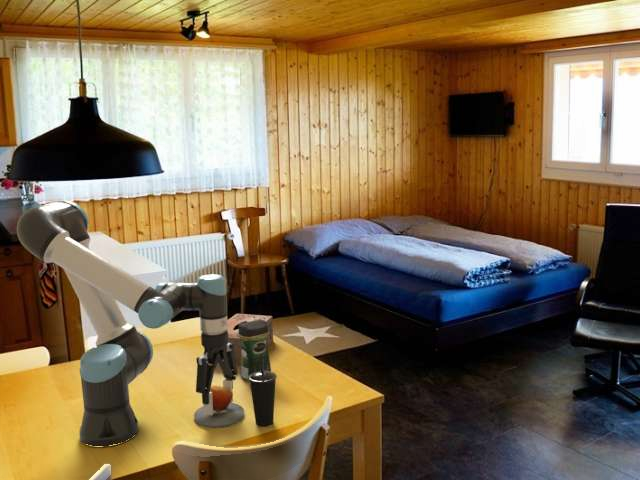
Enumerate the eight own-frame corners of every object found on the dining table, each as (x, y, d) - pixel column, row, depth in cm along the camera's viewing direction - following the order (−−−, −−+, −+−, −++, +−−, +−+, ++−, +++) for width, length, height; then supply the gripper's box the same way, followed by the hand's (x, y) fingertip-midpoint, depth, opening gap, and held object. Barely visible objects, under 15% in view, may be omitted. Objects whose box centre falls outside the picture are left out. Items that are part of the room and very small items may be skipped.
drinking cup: (264, 414, 190) (261, 347, 186) (284, 421, 185) (281, 353, 182) (244, 424, 184) (241, 355, 181) (264, 432, 180) (261, 361, 176)
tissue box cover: (245, 367, 226) (244, 338, 225) (206, 363, 231) (205, 335, 229) (273, 341, 251) (272, 316, 249) (238, 338, 255) (236, 313, 253)
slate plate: (223, 432, 180) (223, 428, 180) (183, 421, 187) (183, 417, 187) (254, 411, 192) (253, 407, 192) (215, 402, 199) (215, 398, 199)
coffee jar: (262, 368, 224) (260, 315, 220) (274, 376, 217) (272, 321, 214) (236, 375, 219) (234, 321, 215) (248, 383, 212) (245, 327, 209)
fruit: (195, 411, 184) (201, 382, 187) (207, 414, 191) (212, 386, 194) (222, 415, 182) (227, 385, 185) (233, 418, 189) (238, 389, 192)
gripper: (200, 344, 174) (205, 425, 178) (248, 321, 192) (251, 396, 196) (178, 340, 177) (183, 419, 182) (227, 318, 195) (230, 391, 200)
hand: (218, 407), depth 189 cm, fingers open, 8 cm apart
